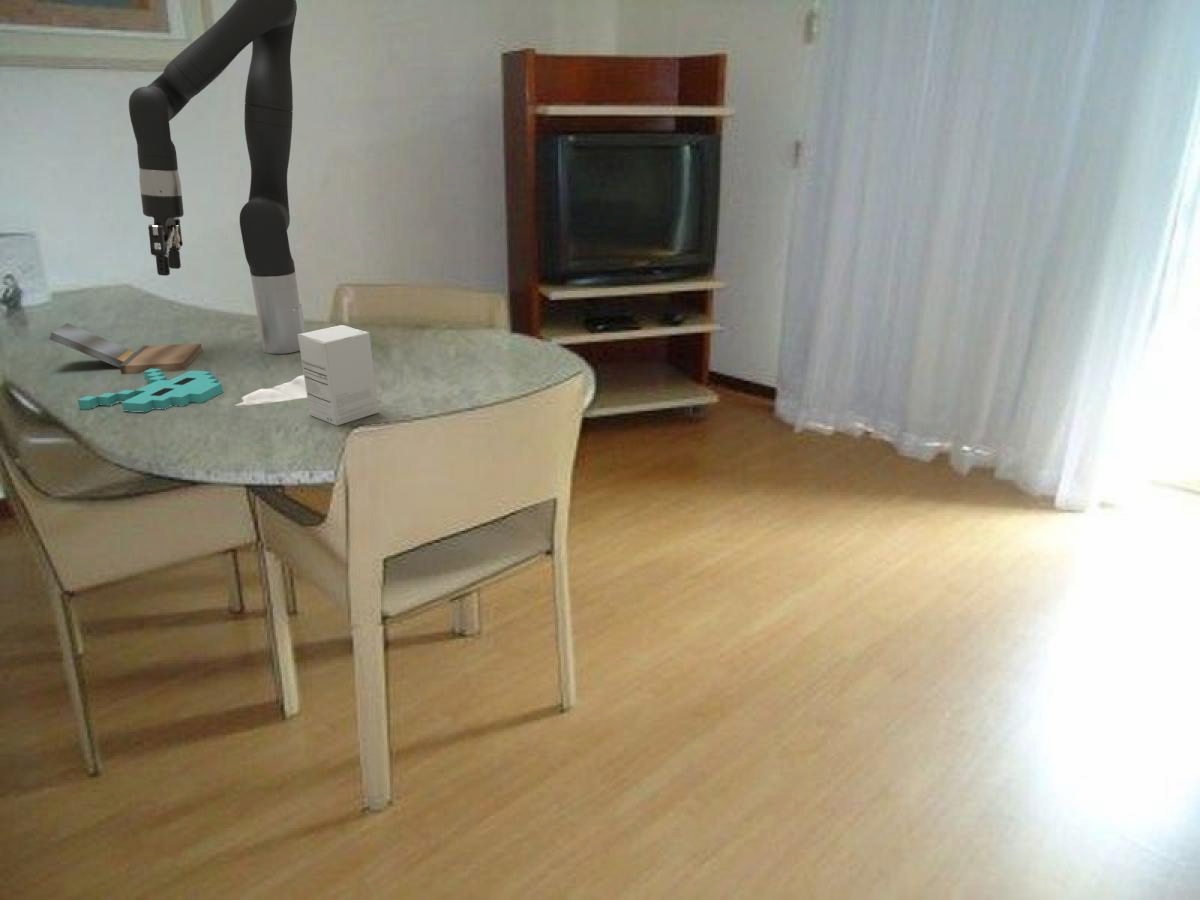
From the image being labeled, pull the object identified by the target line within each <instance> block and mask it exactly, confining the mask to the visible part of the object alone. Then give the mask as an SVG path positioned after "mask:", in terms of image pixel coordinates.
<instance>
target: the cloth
mask: <svg viewBox="0 0 1200 900" xmlns="http://www.w3.org/2000/svg"><path fill="white" fill-rule="evenodd" d="M298 399H307V393H306V386H305V379H304V374H302V375H298V376H296V377H295V378H294V379H293V380H291V381H288V382H284V383H282V384H280V385H274V387H270V388H260V389H259V388H258V389H257V390H254V391H253V392H250V393H248V394H246V395H244V396H242V397H241V400H242V402H240V403H237V404H235V405H234V407H242V406H253V405H262V404H271V403H277V402H287V401H292V400H298Z"/></svg>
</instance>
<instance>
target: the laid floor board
mask: <svg viewBox="0 0 1200 900" xmlns="http://www.w3.org/2000/svg"><path fill="white" fill-rule="evenodd" d="M202 352H203V347H202V343H181V344H163V345H142V346H141V347H140V348H139V349H138V350H136V351H135V353H134V354H133V355H132V356H131V357H129V358H128V359H127V360H126V361H125V362H123V363H122V364H121V365H120V368H119V370H120V374H122V375H124V374H125V375H129V374H128V373H131V374H140V373H139V372H144V371H146V370H149V369H161V371H167V372H177V371H176V370H184V369H185V368H186V367H187V366H188V365H189V366H190V364H192V362H193V361H194V360H195V359H196V358H197V357H198V356H199V355H200V354H201V353H202ZM199 353H200V354H199ZM198 354H199V355H198ZM197 355H198V356H197ZM196 356H197V357H196ZM195 357H196V358H195ZM194 358H195V359H194ZM189 366H188V367H189ZM188 367H187V368H188ZM187 368H186V369H187ZM186 369H185V370H186ZM185 370H184V371H185Z"/></svg>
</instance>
